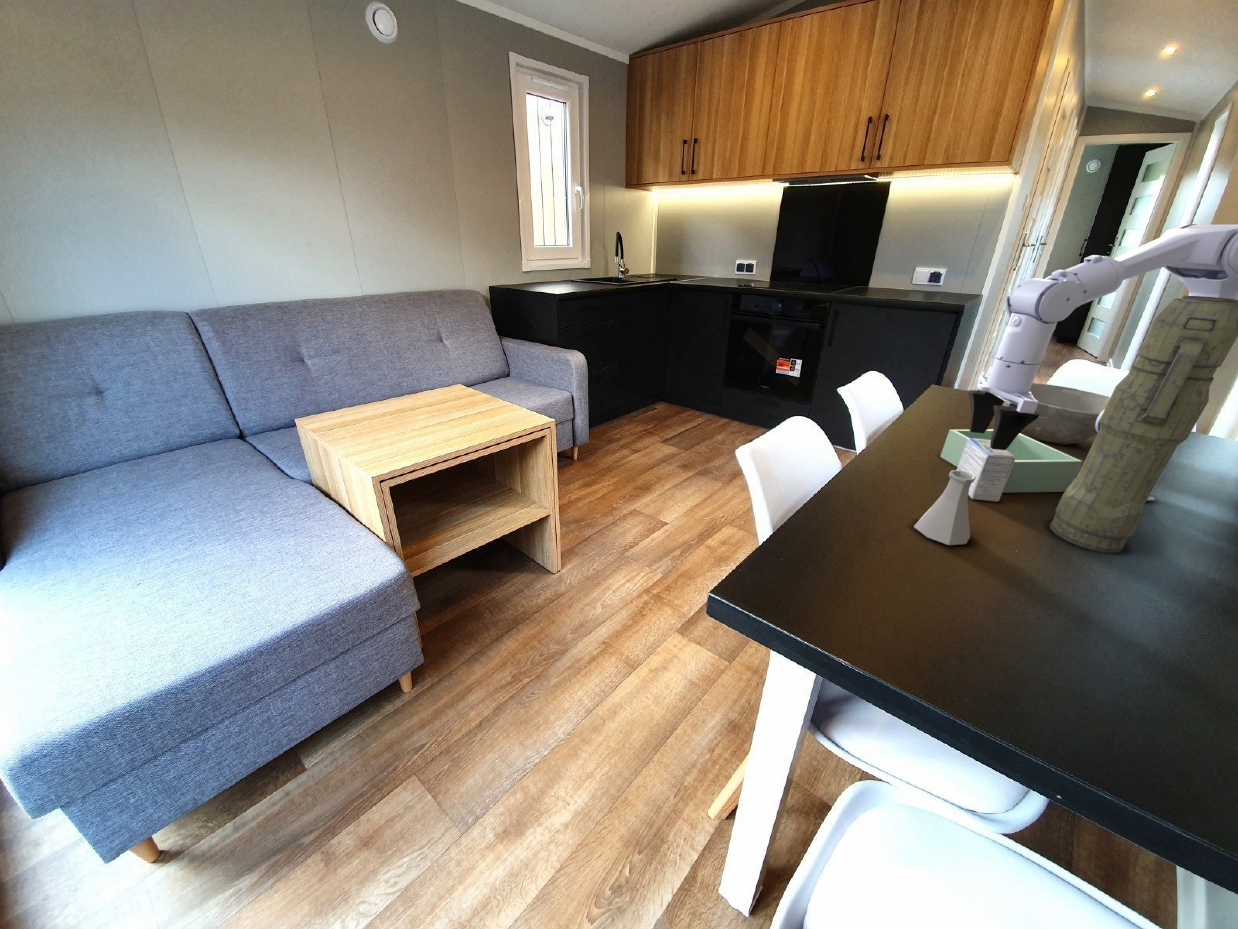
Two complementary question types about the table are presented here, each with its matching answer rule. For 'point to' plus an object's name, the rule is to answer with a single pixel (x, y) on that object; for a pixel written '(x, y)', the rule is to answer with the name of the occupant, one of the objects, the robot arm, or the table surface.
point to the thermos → (1147, 422)
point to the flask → (949, 512)
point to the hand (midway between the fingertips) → (986, 440)
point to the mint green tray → (1022, 462)
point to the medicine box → (986, 469)
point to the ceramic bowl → (1064, 414)
